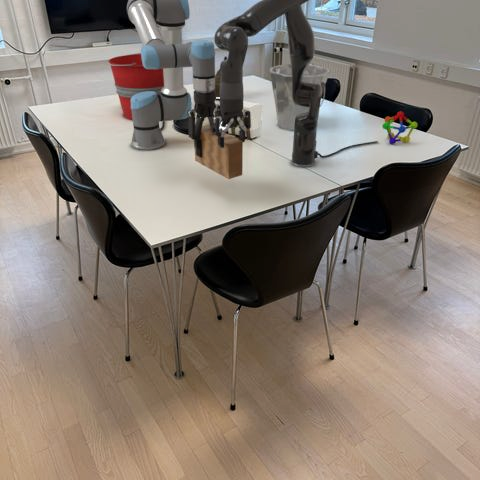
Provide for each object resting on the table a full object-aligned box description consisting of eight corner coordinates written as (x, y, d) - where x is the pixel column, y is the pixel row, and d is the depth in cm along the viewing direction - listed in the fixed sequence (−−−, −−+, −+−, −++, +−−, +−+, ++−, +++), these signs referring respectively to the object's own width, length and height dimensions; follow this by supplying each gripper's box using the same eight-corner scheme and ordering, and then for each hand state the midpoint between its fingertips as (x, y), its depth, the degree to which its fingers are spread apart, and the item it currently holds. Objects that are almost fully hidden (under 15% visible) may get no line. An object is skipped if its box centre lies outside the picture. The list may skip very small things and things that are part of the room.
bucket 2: (296, 138, 215) (301, 78, 201) (255, 124, 234) (256, 68, 219) (335, 125, 232) (342, 70, 217) (294, 113, 251) (297, 61, 236)
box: (195, 160, 166) (193, 128, 159) (208, 157, 169) (207, 125, 162) (228, 179, 152) (228, 144, 145) (242, 175, 155) (242, 140, 149)
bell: (227, 105, 294) (202, 96, 282) (238, 66, 289) (213, 55, 277) (243, 108, 280) (217, 98, 268) (255, 66, 275) (229, 55, 263)
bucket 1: (122, 105, 264) (115, 51, 248) (181, 105, 263) (177, 51, 248) (106, 122, 235) (96, 62, 219) (171, 123, 234) (167, 63, 218)
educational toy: (377, 146, 209) (379, 114, 202) (384, 138, 219) (386, 107, 211) (411, 149, 202) (415, 116, 195) (417, 141, 212) (420, 109, 204)
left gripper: (186, 96, 144) (190, 163, 156) (233, 88, 154) (233, 151, 166) (174, 92, 149) (179, 156, 161) (220, 84, 159) (221, 145, 171)
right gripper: (220, 101, 134) (221, 152, 143) (256, 94, 141) (255, 143, 150) (206, 96, 139) (208, 145, 148) (242, 89, 146) (241, 137, 155)
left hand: (206, 154), depth 164 cm, fingers closed on box, 6 cm apart
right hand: (231, 144), depth 149 cm, fingers open, 8 cm apart
